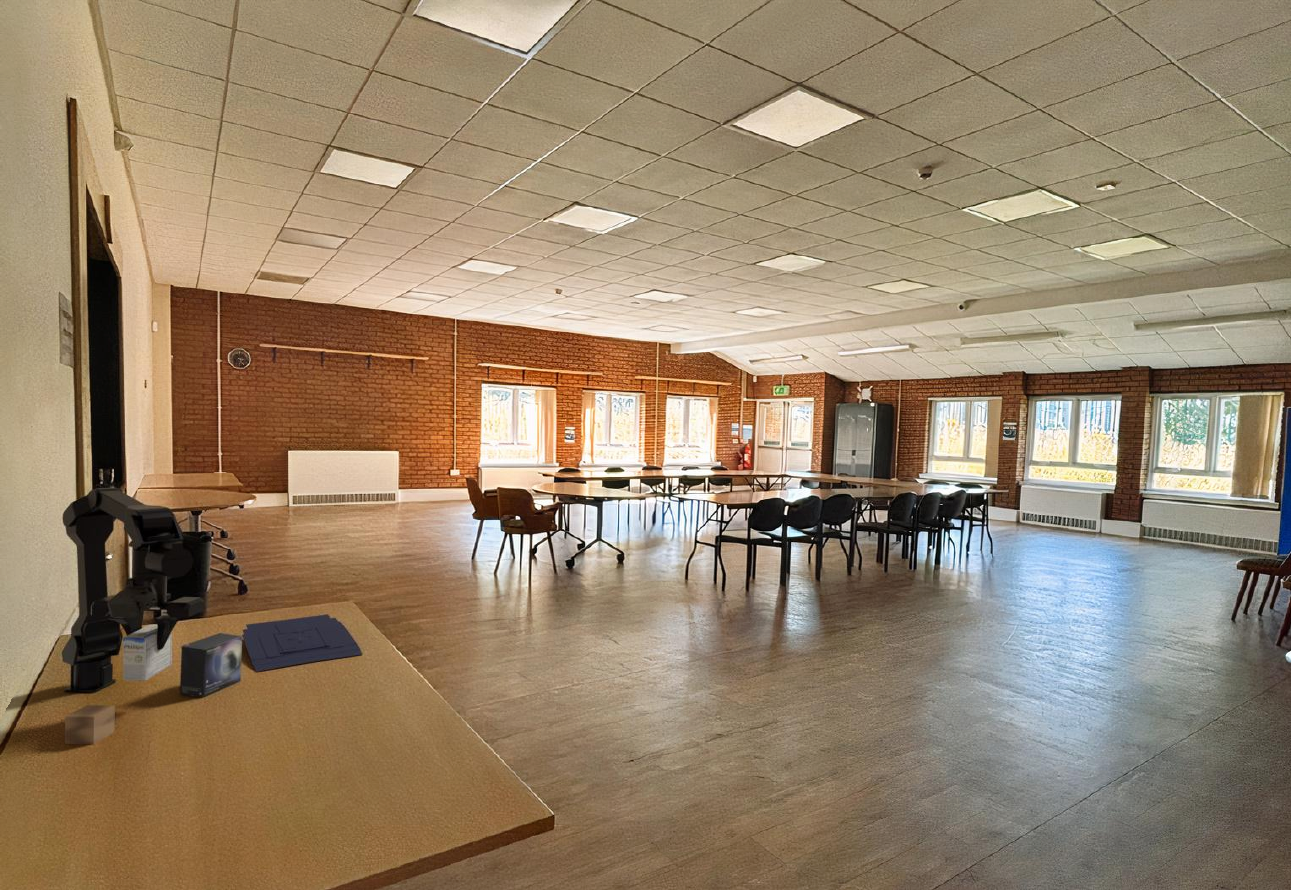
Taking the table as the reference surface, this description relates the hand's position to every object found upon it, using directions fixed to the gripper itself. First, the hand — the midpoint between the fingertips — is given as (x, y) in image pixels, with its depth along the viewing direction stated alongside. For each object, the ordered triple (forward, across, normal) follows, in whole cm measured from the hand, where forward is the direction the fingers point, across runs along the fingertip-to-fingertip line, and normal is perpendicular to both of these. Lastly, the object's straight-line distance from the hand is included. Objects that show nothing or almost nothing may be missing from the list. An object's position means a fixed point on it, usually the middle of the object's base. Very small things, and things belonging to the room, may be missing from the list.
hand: (148, 649), depth 138 cm
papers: (+13, +11, +42) cm, 45 cm away
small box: (+13, +5, +13) cm, 19 cm away
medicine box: (+5, 0, 0) cm, 5 cm away
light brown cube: (+12, -2, -12) cm, 17 cm away
